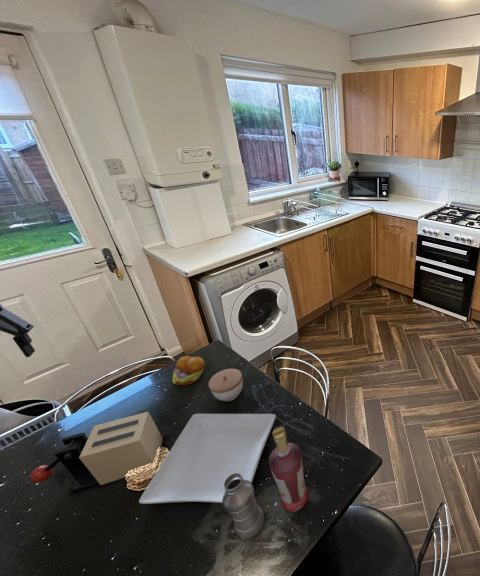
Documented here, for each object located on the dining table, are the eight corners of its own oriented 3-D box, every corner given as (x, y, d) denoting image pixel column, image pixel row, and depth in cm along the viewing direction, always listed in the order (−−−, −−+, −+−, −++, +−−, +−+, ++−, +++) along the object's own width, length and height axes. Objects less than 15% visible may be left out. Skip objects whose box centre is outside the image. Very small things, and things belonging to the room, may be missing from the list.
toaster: (100, 486, 85) (77, 457, 79) (112, 453, 93) (93, 425, 87) (156, 468, 89) (139, 440, 83) (163, 438, 98) (148, 410, 91)
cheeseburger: (169, 377, 120) (168, 355, 117) (200, 369, 127) (200, 348, 124) (175, 392, 113) (174, 369, 110) (207, 383, 121) (207, 361, 117)
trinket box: (211, 409, 107) (203, 390, 103) (217, 386, 116) (210, 368, 112) (244, 403, 110) (238, 384, 105) (247, 381, 119) (242, 362, 114)
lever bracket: (72, 493, 83) (45, 462, 77) (86, 462, 91) (62, 432, 84) (100, 484, 85) (76, 454, 79) (111, 455, 93) (90, 425, 86)
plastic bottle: (271, 521, 78) (255, 475, 68) (248, 549, 73) (228, 504, 63) (254, 506, 81) (237, 460, 71) (231, 532, 76) (209, 486, 66)
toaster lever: (41, 487, 82) (22, 484, 79) (48, 473, 85) (31, 469, 83) (81, 452, 82) (64, 448, 79) (87, 439, 85) (71, 434, 83)
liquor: (313, 505, 81) (299, 437, 67) (285, 521, 78) (265, 453, 64) (304, 480, 87) (290, 413, 73) (278, 494, 83) (258, 426, 70)
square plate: (247, 510, 80) (244, 502, 78) (141, 510, 80) (135, 502, 78) (278, 420, 104) (276, 412, 102) (196, 420, 103) (192, 412, 102)
